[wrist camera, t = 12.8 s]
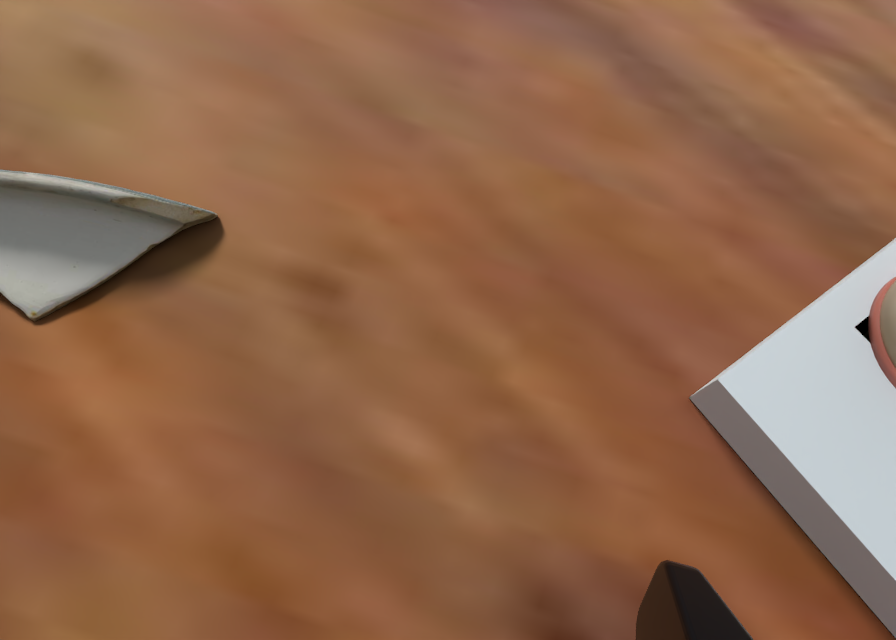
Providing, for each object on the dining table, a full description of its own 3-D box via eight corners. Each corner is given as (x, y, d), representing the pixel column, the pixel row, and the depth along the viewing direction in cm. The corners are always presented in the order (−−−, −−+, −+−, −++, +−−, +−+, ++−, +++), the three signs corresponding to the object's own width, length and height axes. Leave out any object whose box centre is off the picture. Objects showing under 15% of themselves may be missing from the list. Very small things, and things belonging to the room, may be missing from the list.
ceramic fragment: (224, 214, 25) (185, 157, 22) (195, 338, 23) (147, 298, 20) (-115, 190, 26) (-208, 131, 22) (-168, 309, 24) (-279, 266, 20)
